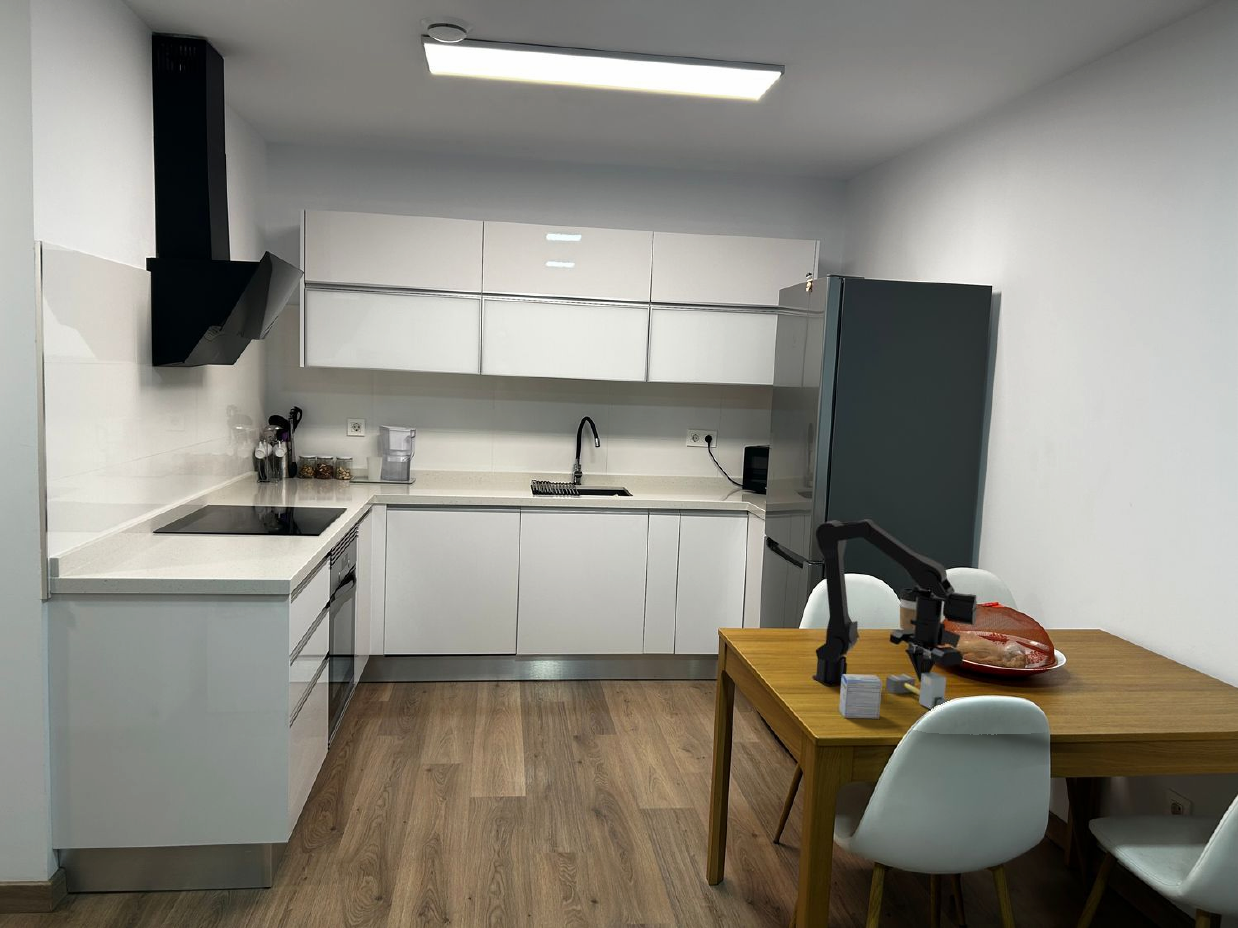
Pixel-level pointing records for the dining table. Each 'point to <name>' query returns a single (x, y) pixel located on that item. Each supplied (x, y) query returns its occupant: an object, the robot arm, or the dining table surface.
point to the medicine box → (860, 696)
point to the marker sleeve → (931, 688)
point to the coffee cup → (907, 609)
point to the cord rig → (906, 686)
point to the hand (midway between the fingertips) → (922, 682)
